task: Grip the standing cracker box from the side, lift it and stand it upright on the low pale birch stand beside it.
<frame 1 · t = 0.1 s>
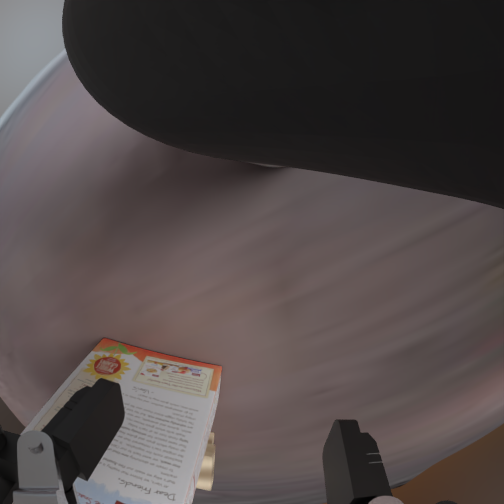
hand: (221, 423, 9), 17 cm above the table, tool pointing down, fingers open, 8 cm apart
birch stand: (154, 439, 34), on the table
cracker box: (161, 370, 31), on the table
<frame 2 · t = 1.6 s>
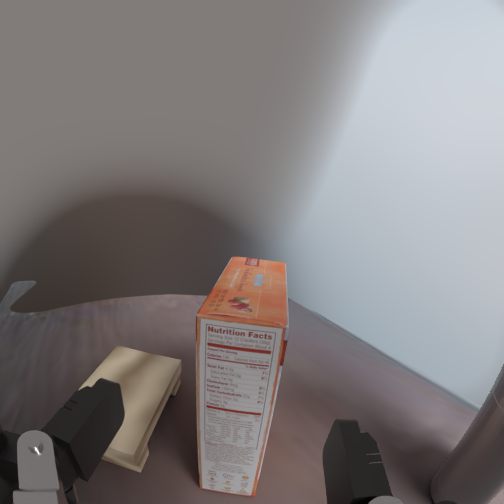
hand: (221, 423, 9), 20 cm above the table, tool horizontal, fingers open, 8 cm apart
birch stand: (126, 412, 31), on the table
cracker box: (234, 449, 29), on the table
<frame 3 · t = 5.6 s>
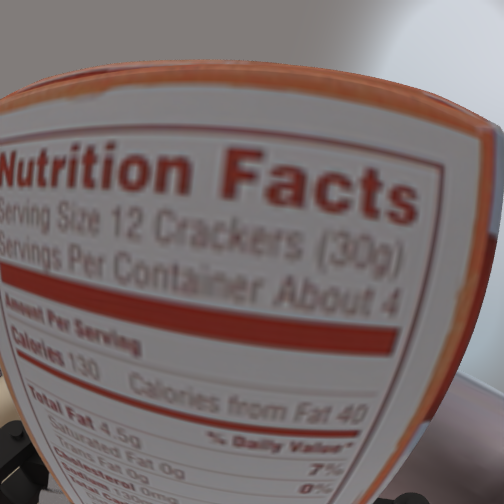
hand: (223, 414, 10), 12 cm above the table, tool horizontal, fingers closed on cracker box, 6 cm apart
birch stand: (50, 439, 16), on the table
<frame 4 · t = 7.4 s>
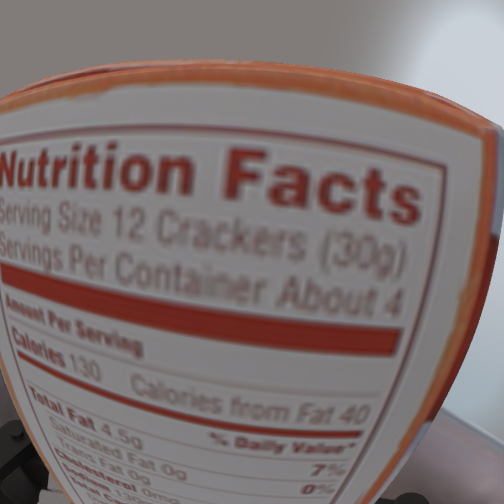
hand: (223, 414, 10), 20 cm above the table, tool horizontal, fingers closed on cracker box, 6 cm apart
when the fingers open (17 cm above the table, at t = 9.4 s): cracker box drops 1 cm, resting on birch stand.
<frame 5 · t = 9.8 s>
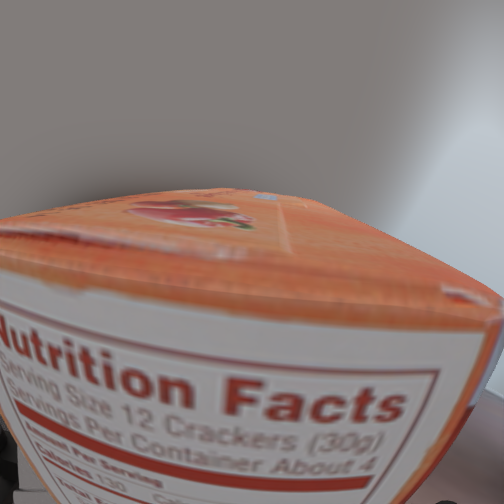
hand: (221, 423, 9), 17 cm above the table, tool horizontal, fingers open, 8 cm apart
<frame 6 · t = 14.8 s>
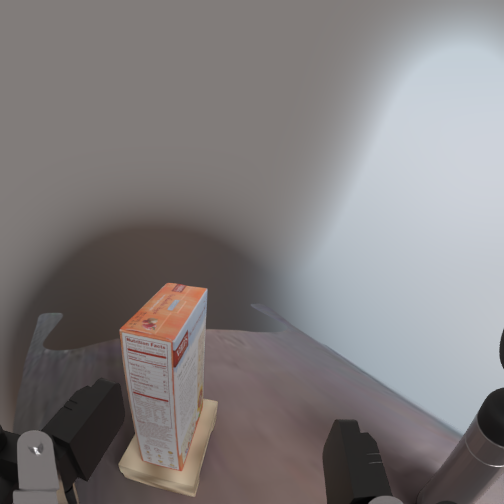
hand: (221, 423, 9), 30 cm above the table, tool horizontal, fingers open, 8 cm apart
birch stand: (174, 447, 37), on the table
cracker box: (173, 434, 36), point 4 cm above the table, touching birch stand
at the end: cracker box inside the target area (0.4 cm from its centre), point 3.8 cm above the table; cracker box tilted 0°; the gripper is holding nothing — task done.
